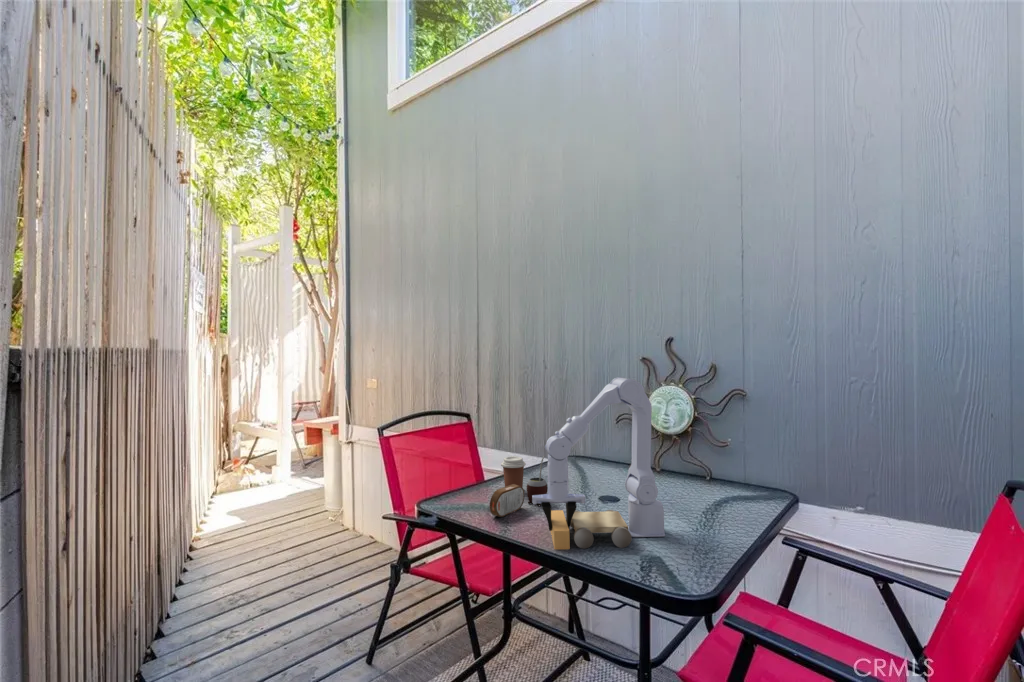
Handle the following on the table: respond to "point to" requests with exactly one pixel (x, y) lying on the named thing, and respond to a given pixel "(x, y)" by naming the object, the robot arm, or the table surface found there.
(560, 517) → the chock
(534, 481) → the mate gourd
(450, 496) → the table surface
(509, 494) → the tin
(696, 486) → the table surface
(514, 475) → the coffee cup
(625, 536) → the trolley
